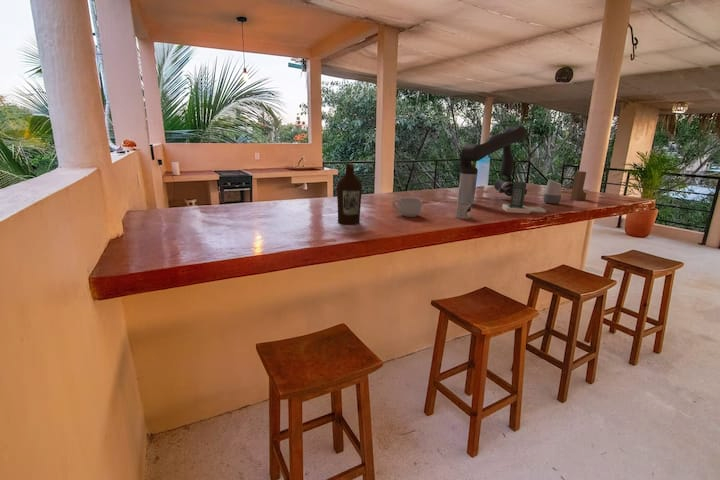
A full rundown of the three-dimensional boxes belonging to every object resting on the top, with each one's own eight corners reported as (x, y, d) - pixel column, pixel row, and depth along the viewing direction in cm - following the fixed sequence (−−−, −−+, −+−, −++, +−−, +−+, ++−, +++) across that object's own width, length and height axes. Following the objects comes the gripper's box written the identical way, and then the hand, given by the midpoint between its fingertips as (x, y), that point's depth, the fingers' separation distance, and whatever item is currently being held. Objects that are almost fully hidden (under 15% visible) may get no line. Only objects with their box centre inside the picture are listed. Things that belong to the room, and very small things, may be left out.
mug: (469, 219, 172) (470, 205, 170) (454, 218, 174) (456, 204, 172) (470, 215, 181) (472, 202, 179) (456, 214, 183) (458, 201, 181)
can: (522, 210, 197) (527, 182, 193) (520, 212, 193) (525, 183, 188) (511, 208, 201) (515, 181, 196) (508, 210, 196) (512, 182, 191)
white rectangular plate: (530, 211, 195) (530, 209, 194) (525, 208, 204) (525, 206, 204) (546, 212, 193) (546, 210, 193) (540, 208, 203) (540, 207, 202)
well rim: (506, 211, 192) (507, 208, 191) (502, 207, 203) (502, 204, 202) (530, 213, 190) (530, 209, 190) (524, 209, 201) (525, 205, 201)
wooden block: (579, 198, 242) (584, 171, 237) (585, 199, 238) (591, 171, 233) (570, 199, 238) (575, 171, 233) (576, 200, 234) (582, 172, 229)
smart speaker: (561, 205, 215) (565, 181, 211) (543, 204, 218) (547, 180, 214) (558, 202, 224) (562, 179, 220) (541, 201, 227) (545, 178, 223)
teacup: (422, 214, 180) (423, 198, 177) (418, 219, 170) (419, 202, 168) (395, 211, 184) (395, 196, 182) (389, 216, 174) (390, 199, 172)
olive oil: (334, 219, 164) (335, 162, 156) (357, 219, 166) (359, 163, 159) (338, 225, 154) (339, 165, 146) (363, 225, 156) (365, 165, 149)
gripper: (497, 181, 215) (502, 185, 200) (522, 182, 213) (530, 186, 198) (495, 194, 217) (501, 198, 202) (520, 195, 215) (528, 200, 200)
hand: (515, 192), depth 200 cm, fingers open, 8 cm apart
